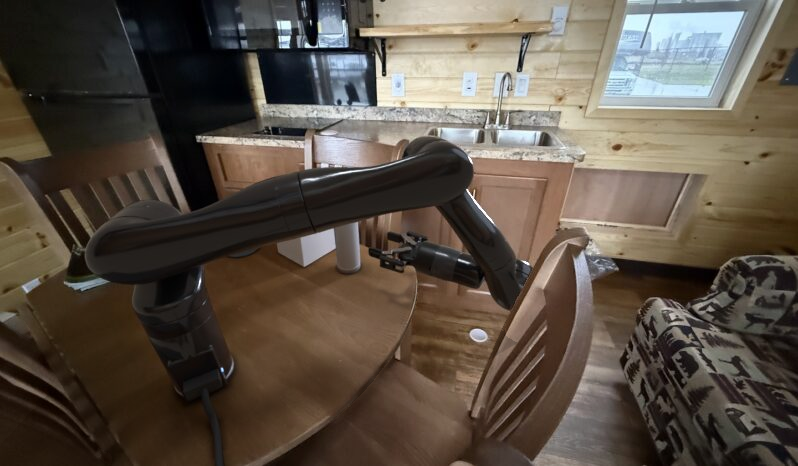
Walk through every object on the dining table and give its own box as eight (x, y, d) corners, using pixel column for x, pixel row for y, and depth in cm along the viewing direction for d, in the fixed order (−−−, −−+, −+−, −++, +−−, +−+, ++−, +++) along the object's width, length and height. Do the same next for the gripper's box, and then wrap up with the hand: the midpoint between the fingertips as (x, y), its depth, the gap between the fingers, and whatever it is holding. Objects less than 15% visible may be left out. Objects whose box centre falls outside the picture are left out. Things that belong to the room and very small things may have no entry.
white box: (304, 267, 87) (367, 233, 105) (299, 230, 81) (367, 202, 100) (278, 252, 93) (342, 223, 112) (272, 217, 88) (340, 193, 106)
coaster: (263, 251, 93) (262, 250, 93) (225, 261, 89) (225, 260, 88) (257, 237, 101) (256, 236, 100) (222, 245, 96) (222, 244, 96)
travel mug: (362, 261, 90) (359, 196, 80) (357, 274, 84) (353, 206, 74) (341, 259, 90) (335, 194, 80) (335, 273, 84) (327, 205, 75)
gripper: (452, 233, 74) (393, 218, 81) (427, 263, 63) (361, 242, 70) (449, 259, 78) (392, 242, 85) (425, 292, 67) (362, 269, 74)
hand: (378, 242), depth 77 cm, fingers open, 8 cm apart
